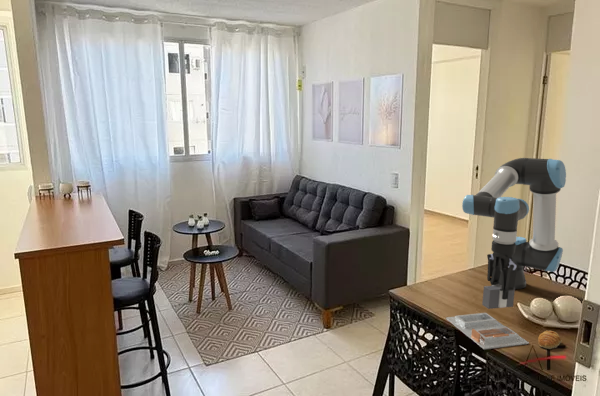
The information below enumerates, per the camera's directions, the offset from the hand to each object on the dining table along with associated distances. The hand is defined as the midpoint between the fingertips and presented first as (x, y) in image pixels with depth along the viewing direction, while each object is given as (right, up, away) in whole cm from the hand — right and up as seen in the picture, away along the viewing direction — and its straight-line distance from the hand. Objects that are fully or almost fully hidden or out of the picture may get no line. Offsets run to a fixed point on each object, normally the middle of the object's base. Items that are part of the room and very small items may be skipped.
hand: (498, 304), depth 152 cm
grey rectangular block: (0, 0, 0) cm, 1 cm away
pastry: (+18, -14, -1) cm, 23 cm away
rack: (-1, -12, +8) cm, 15 cm away
